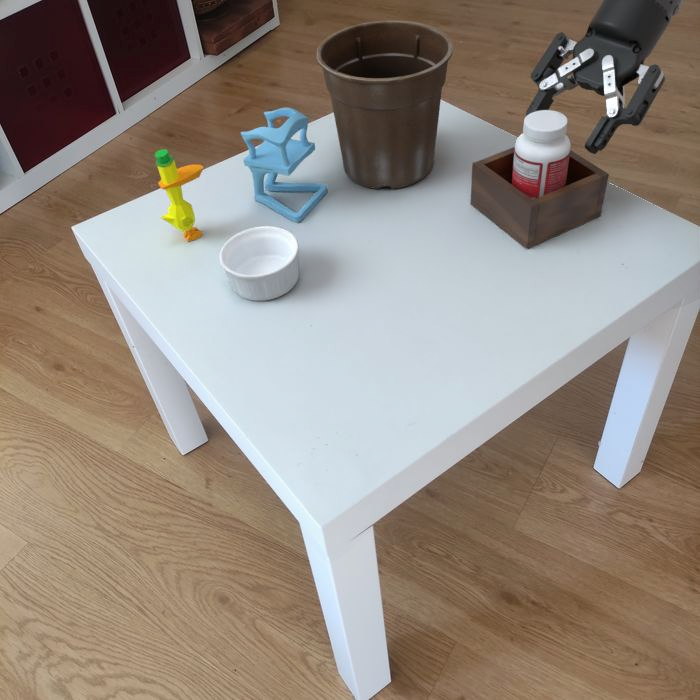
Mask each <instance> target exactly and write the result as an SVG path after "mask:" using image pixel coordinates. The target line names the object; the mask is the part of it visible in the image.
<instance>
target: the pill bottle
mask: <svg viewBox="0 0 700 700" xmlns="http://www.w3.org/2000/svg"><path fill="white" fill-rule="evenodd" d="M567 131H568V118H567V116H566V115H565V114H564V113H562V112H560V111H557V110H553V109H551V110H550V109H548V110H541V111H536V112H533V113H530V114H529V115H527V116H526V115H525V117H524V120H523V127H522V133H521V134H520V135H519V136H518V137H517V138H516V141H515V144H514V147H515V149H514V163H513V175H512V185H513V186H514V187H515V188H517V189H518V190H520V191H521V192H522V193H524V194H525V195H526V196H528V197H529V198H531V199H532V200H534V199H537V198H539V197H541V196H544V195H546V194H549V193H551V192H553V191H556V190H558V189H560V188H563V187H565V185H566V178H567V171H568V164H569V157H570V150H571V149H572V148H571V147H572V145H571V141H570V138H569V137H568V136H567Z"/></svg>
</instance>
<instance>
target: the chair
mask: <svg viewBox="0 0 700 700" xmlns="http://www.w3.org/2000/svg"><path fill="white" fill-rule="evenodd" d="M263 114H264V117H265V118H266V121H267V126H259V127H256V128H254V129H251V130H248V131H241V132H240V136H241V137H242V140H243V141H244V143H245V144H246V146H247V149H248V155H246V156H245V158H244V159H243V164H244V167H247V168H248V169H249V170H250V172H251V175H252V182H253V192H254V201H257V202H260V203H261V204H263V205H265V206H266V207H268V208H269V209H271V210H274V211H275V212H277V213H278V214H280V215H281V216H283V217H285V218H286V219H288V220H290V221H292V222H294V223H301V222H302V221H303V220H304V219H305V217H306V216H308V215H309V213H310V212H311V211H312V210H313V209H314V208H315V207H316V206H317V205H318V204H319V203H320V201H321V200H322V199H323V198H324V197H325V196H326V195H327V193H328V191H329V187H328V184H326V183H321V182H317V183H316V182H287V181H286V182H285V181H284V182H283V181H276V180H277V178H278V175H284V176H287V177H289V176H290V175H292V173H294V171H296V169H297V168H298V167H299V165H300V164H301V163H302V162H303V161H304V160H305V159H306V158H308V157H309V156H310V155H312V153H314V151H315V150H316V143H315V142H313V141H312V142H311V141H309V140H308V137H307V131H308V126H309V117H308V116H306V115H305V114H303V113H302V112H300V111H299V110H297V109H295V108H291V107H281V108H278V109H274V110H271V111H264V112H263ZM281 117H284V118H285V117H286V118H288V119H286V121H285V122H284V123H283V124H282V125H281V126H280V127H277V128H275V124H274V120H275V119H278V118H281ZM298 132H300V134H299V135H300V136H299V139H293V138H292V137H294V135H296V134H297V133H298ZM256 139H257V140H262V141H263V142H261V143H260V145H259V146H257V147H255V145H254V143H253V142H252V141H251V140H256ZM265 175H267V176H266V178H265ZM265 191H269V192H282V193H283V192H286V193H289V192H290V193H291V192H292V193H293V192H296V193H297V192H298V193H300V192H302V193H303V192H306V193H307V192H308V193H310V192H311V193H312V192H313V193H314V195H312V197H311V198H310V199H309V200H308V201H307V202H306V203H305V204H304V205H303V206H302V207H301V208H300V210H298V211H297V212H295V211H293V210H292V209H290V208H289V207H287V206H286V205H284V204H283V203H282V202H280V201H279V200H277V199H275V198H274V197H272V196H271V195H269V194H267V193H265ZM315 192H316V193H315Z"/></svg>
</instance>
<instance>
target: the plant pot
mask: <svg viewBox="0 0 700 700" xmlns="http://www.w3.org/2000/svg"><path fill="white" fill-rule="evenodd" d="M453 49H454V43H453V40H452V39H451V38H450V36H449V35H448V34H447V33H446V32H444V31H442V30H441V29H439V28H437V27H434V26H432V25H429V24H426V23H422V22H417V21H411V20H410V21H409V20H376V21H367V22H363V23H357V24H354V25H350V26H347V27H345V28H342V29H340V30H338V31H336V32H334V33H332V34H331V35H329V36H327V37H326V38H325V39H324V40H323V41H322V42H321V43H320V45H319V46H318V47H317V49H316V59H317V63H318V65H319V66H320V68H321V69H322V73H323V77H324V78H323V79H324V82H325V83H324V84H325V87H326V89H327V91H328V93H329V95H330V96H329V97H330V100H331V107H332V111H333V117H334V122H335V127H336V131H337V138H338V144H339V149H340V154H341V159H342V165H343V170H344V172H345V174H346V176H347V177H348V178H349V179H350V180H352V181H353V182H354V183H357V184H358V185H361V186H363V187H367V188H370V189H376V190H378V189H381V188H382V187H389V188H391V189H394V190H396V189H402V188H405V187H408V186H411V185H414V184H417V183H418V182H420V181H422V180H423V179H424V178H426V177H427V176H428V175H429V174H430V173H431V172H432V170H433V168H434V164H435V163H434V162H435V153H436V146H437V145H436V143H437V134H438V127H439V117H440V108H441V102H442V101H441V99H442V91H443V87H444V85H445V83H446V79H447V72H448V64H449V60H450V59H451V57H452V56H453V51H454V50H453Z"/></svg>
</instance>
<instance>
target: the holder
mask: <svg viewBox="0 0 700 700" xmlns="http://www.w3.org/2000/svg"><path fill="white" fill-rule="evenodd" d="M514 149H515V146H513V147H510V148H508V149H505V150H503V151H499V152H498V153H495V154H493V155H490V156H488V157H485V158H482V159H480V160H477V161H475V162H472V163H471V182H470V183H471V186H470V205H471V206H472V207H473V208H475V209H476V210H477V211H478V212H480V213H481V215H484V216H485V217H486V218H487V219H488V220H490V221H491V222H492V223H493V224H494V225H495V226H497V227H498V228H499V229H501V230H502V231H504V233H505V234H507V235H508V236H509V237H511V238H512V239H513V240H514V241H515V242H516V243H518V244H519V245H520V246H522V248H524V249H526V250H528V249H530V248H533V247H535V246H538V245H539V244H542V243H544V242H546V241H548V240H551V239H553V238H555V237H558V236H559V235H562V234H565V233H567V232H568V231H571V230H573V229H575V228H578V227H579V226H582V225H584V224H586V223H589V222H590V221H593V220H595V219H598V218H601V216H602V211H603V208H604V207H603V206H604V201H605V197H606V191H607V188H608V187H607V186H608V182H609V177H610V173H608V172H606V171H605V170H603V169H602V168H600V167H598V166H597V165H595V164H593V162H591V161H589V160H587V159H586V158H585V157H582V156H581V155H580V154H578V153H576V152H575V151H573V150H571V149H570V157H569V164H568V171H567V178H566V185H565V187H563V188H560V189H558V190H556V191H553V192H551V193H549V194H546V195H544V196H541V197H539V198H537V199H534V200H532V199H531V198H529V197H528V196H526V195H525V194H524V193H522V192H521V191H520V190H518V189H517V188H515V187H514V186H513V185H512V175H513V163H514Z"/></svg>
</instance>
